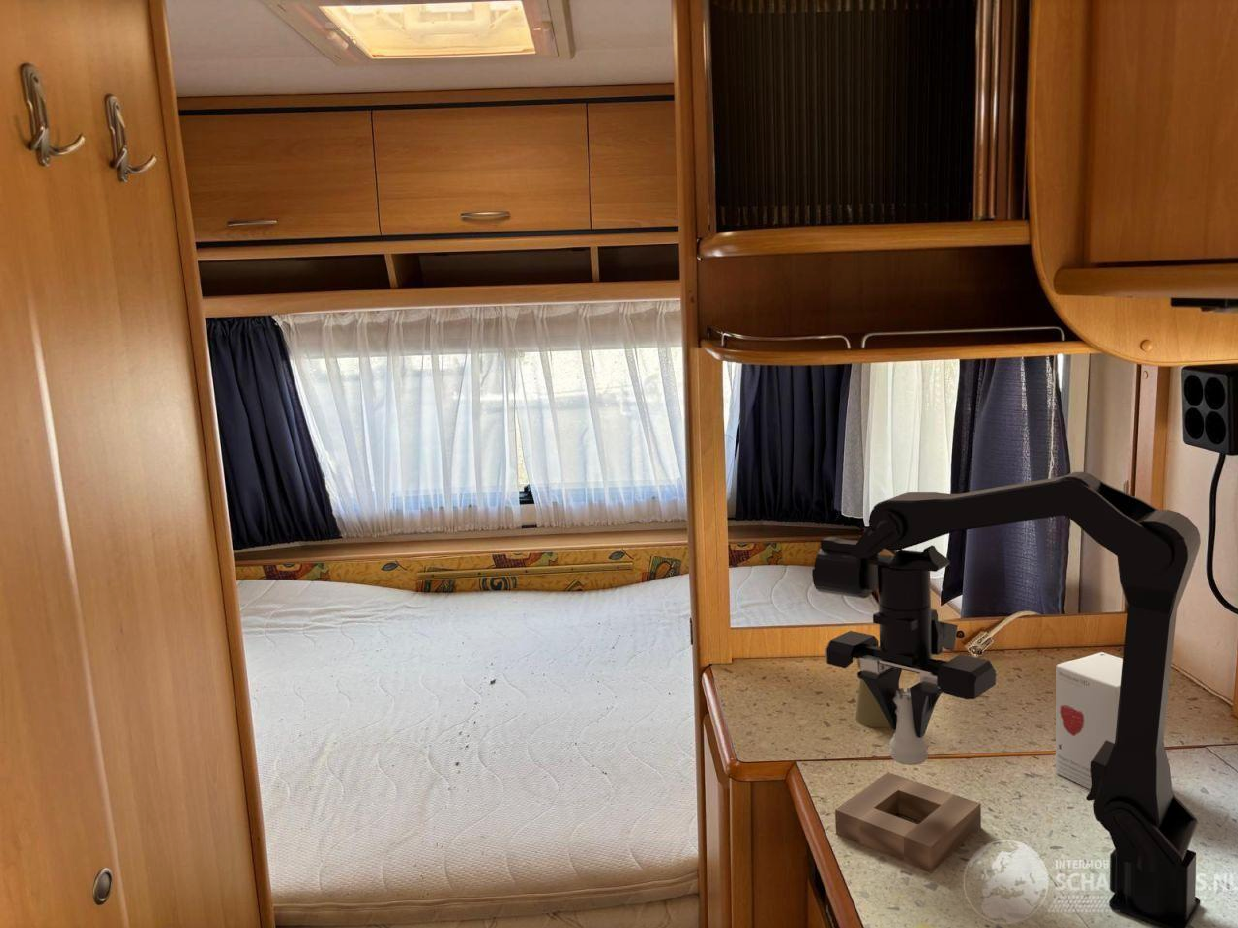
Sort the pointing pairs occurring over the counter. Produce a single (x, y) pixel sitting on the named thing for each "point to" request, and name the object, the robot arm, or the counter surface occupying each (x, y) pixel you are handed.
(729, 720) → the counter surface
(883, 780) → the walnut socket
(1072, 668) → the supplement box
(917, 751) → the rook chess piece
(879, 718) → the cork
